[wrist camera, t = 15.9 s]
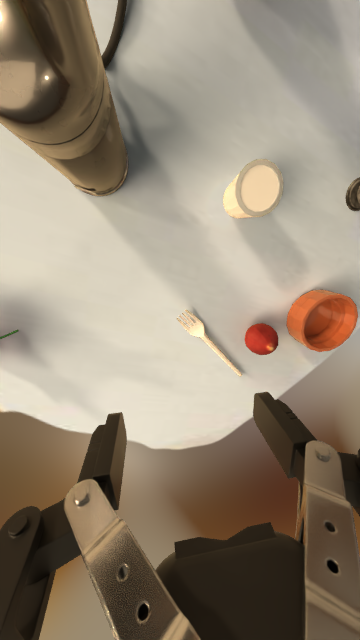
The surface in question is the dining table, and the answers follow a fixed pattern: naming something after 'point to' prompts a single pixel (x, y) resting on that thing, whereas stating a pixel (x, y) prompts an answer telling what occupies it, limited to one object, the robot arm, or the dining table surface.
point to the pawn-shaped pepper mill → (353, 195)
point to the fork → (204, 336)
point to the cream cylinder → (254, 190)
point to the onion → (261, 339)
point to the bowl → (322, 319)
